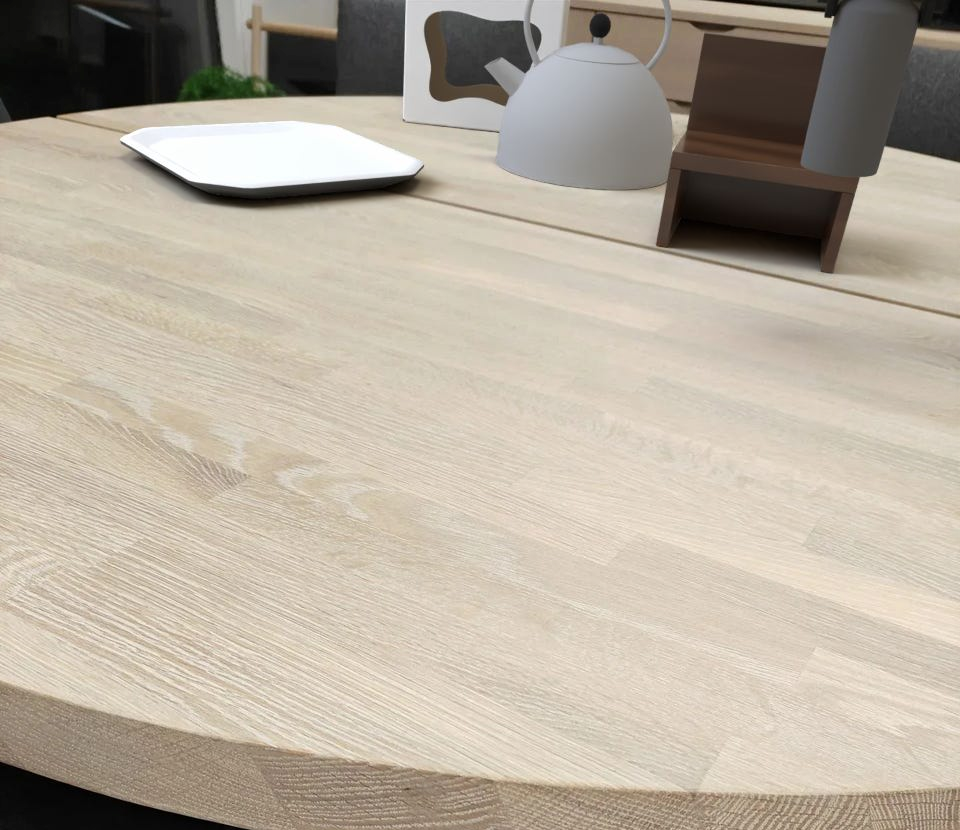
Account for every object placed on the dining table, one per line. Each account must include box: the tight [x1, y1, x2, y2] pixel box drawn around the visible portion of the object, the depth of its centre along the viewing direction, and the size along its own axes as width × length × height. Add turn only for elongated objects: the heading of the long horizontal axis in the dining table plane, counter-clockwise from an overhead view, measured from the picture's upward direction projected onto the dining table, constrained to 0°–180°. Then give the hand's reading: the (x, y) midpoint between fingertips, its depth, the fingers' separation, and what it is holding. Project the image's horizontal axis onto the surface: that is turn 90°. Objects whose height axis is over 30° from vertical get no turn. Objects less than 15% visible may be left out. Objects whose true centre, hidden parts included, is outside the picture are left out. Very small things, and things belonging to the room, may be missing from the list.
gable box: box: [402, 0, 571, 133], centre depth 141 cm, size 22×13×28 cm, turn 82°
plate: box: [119, 120, 425, 200], centre depth 116 cm, size 29×29×2 cm
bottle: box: [801, 0, 921, 178], centre depth 72 cm, size 6×6×15 cm
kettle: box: [484, 0, 674, 191], centre depth 123 cm, size 25×23×22 cm
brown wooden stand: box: [655, 31, 861, 274], centre depth 102 cm, size 14×18×18 cm
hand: (876, 17), depth 71 cm, fingers closed on bottle, 5 cm apart
